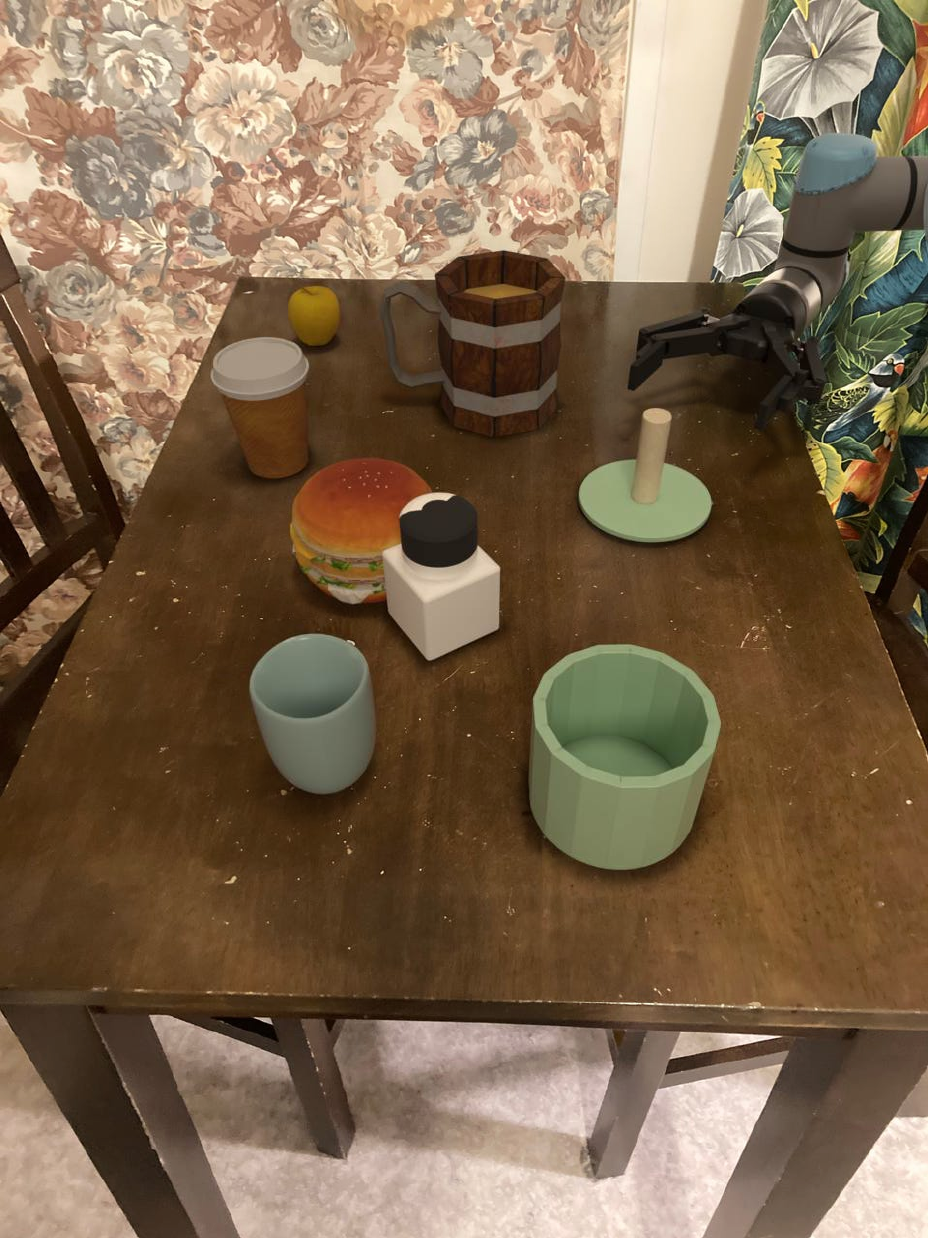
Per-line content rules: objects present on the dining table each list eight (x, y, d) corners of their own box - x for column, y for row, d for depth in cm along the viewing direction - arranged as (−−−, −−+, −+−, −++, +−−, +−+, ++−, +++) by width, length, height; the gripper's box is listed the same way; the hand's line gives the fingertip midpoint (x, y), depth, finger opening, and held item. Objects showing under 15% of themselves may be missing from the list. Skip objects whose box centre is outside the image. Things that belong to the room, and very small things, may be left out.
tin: (708, 758, 63) (734, 671, 57) (674, 894, 56) (699, 812, 49) (557, 713, 67) (565, 626, 60) (505, 836, 59) (507, 752, 52)
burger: (429, 624, 74) (423, 532, 67) (276, 610, 76) (255, 519, 69) (453, 527, 83) (450, 438, 76) (317, 516, 85) (302, 428, 78)
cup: (341, 828, 60) (321, 738, 53) (253, 783, 63) (223, 692, 56) (401, 748, 65) (390, 657, 58) (317, 710, 67) (297, 618, 60)
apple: (285, 352, 110) (274, 290, 104) (306, 329, 114) (297, 269, 108) (332, 358, 108) (323, 296, 103) (351, 335, 112) (344, 274, 107)
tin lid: (720, 483, 88) (740, 393, 81) (695, 560, 79) (715, 467, 72) (598, 458, 91) (607, 370, 84) (561, 529, 83) (568, 438, 76)
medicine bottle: (500, 630, 73) (503, 517, 65) (428, 663, 71) (421, 551, 62) (456, 582, 78) (453, 471, 69) (387, 612, 75) (374, 501, 67)
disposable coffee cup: (341, 459, 92) (327, 355, 84) (270, 499, 87) (246, 392, 79) (286, 427, 97) (267, 325, 89) (215, 463, 92) (188, 359, 84)
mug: (558, 377, 104) (566, 251, 93) (556, 439, 94) (564, 306, 84) (396, 372, 105) (386, 247, 95) (378, 433, 96) (364, 301, 85)
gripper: (876, 376, 95) (808, 469, 83) (667, 319, 105) (580, 395, 93) (899, 310, 89) (830, 399, 77) (677, 257, 100) (586, 329, 88)
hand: (694, 397), depth 85 cm, fingers open, 13 cm apart
